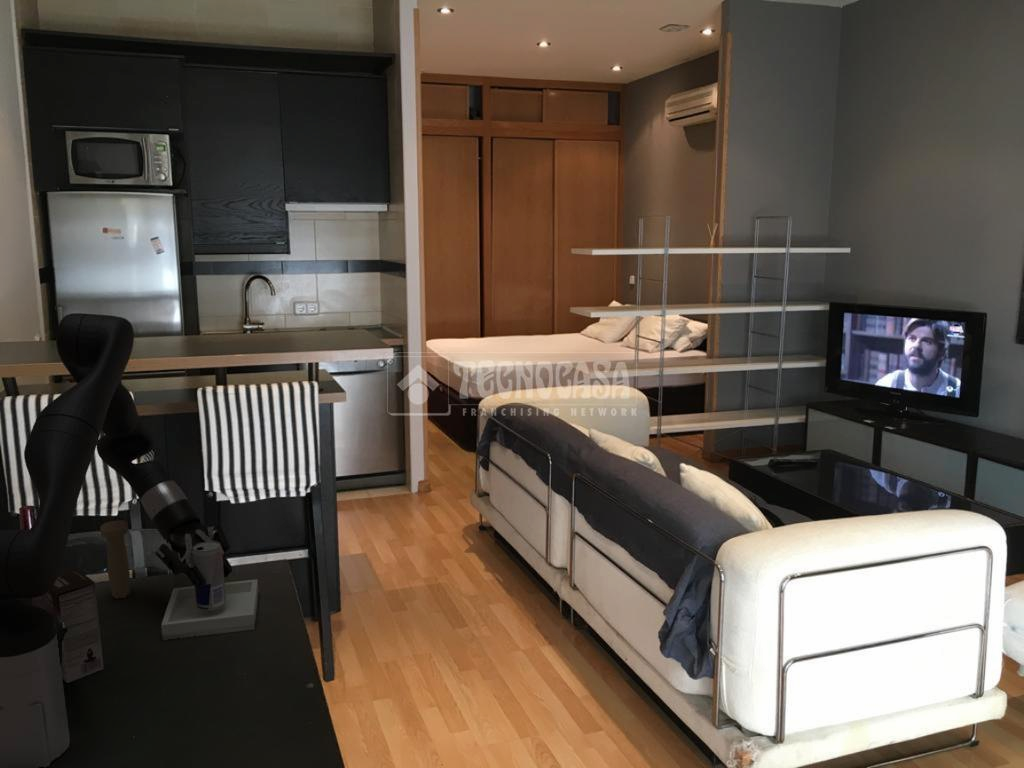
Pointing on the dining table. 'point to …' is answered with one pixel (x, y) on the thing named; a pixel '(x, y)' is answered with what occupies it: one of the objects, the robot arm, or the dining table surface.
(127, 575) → the handle
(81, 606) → the coffee box
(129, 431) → the robot arm
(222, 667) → the dining table surface
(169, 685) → the dining table surface
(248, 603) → the tray
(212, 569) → the energy drink
